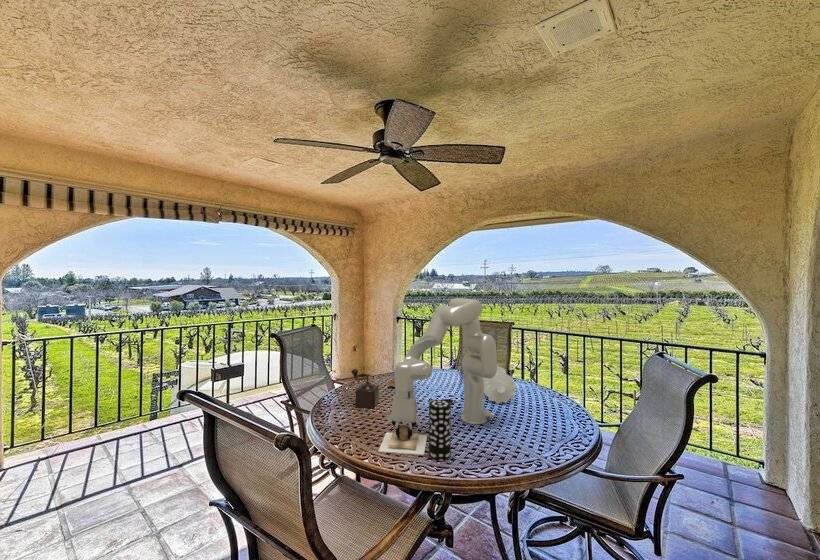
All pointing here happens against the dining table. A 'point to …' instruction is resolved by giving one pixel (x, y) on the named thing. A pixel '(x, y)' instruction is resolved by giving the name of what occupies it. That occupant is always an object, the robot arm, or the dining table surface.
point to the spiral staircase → (499, 386)
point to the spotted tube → (439, 430)
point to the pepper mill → (366, 393)
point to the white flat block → (418, 451)
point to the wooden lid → (403, 439)
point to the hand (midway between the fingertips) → (404, 436)
